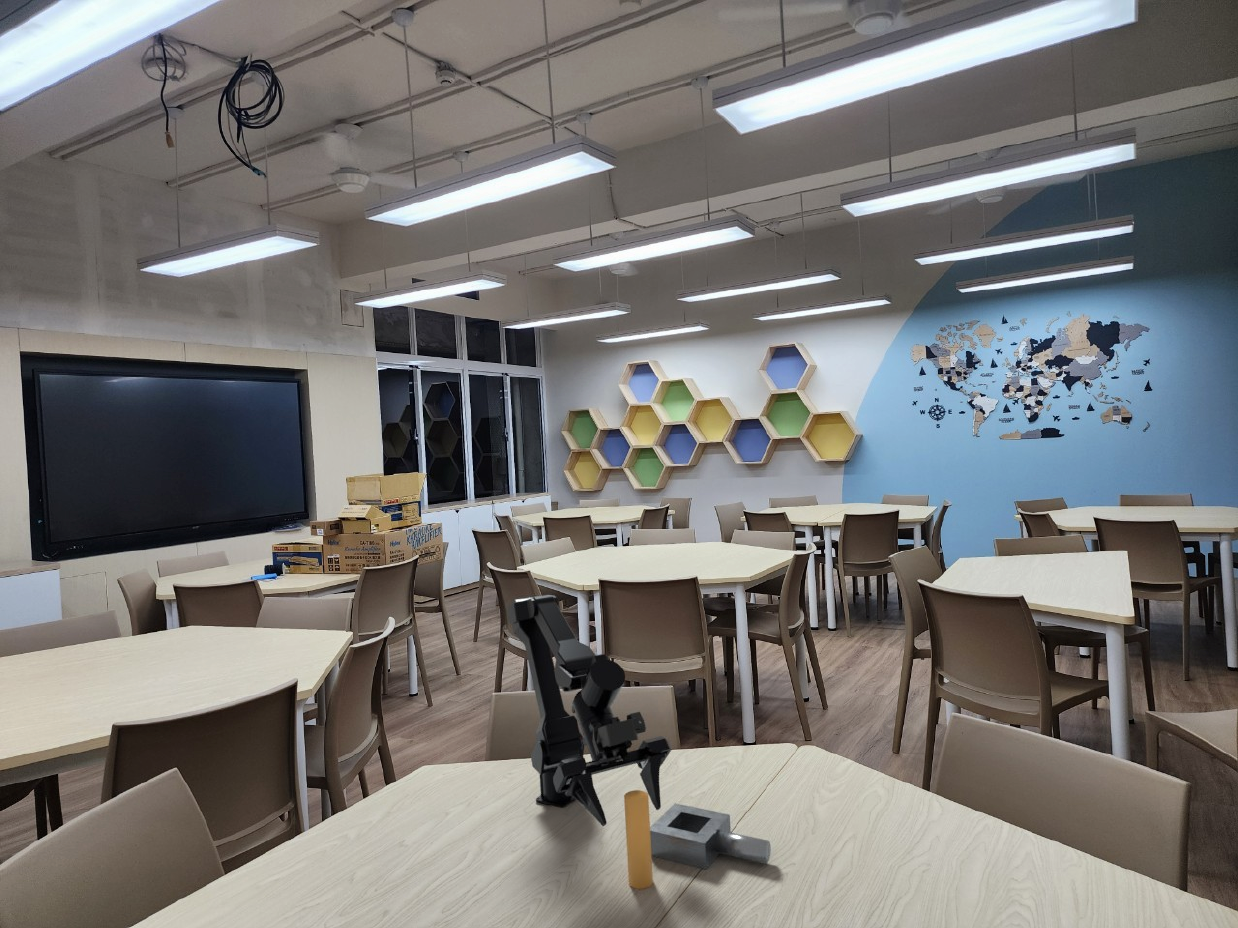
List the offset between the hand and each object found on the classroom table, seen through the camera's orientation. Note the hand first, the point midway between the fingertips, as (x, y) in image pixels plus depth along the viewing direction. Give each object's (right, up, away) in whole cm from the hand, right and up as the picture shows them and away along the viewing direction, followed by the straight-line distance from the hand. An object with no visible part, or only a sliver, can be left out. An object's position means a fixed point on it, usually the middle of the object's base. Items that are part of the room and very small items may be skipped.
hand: (632, 816), depth 114 cm
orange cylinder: (+1, -9, -1) cm, 9 cm away
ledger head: (+13, -8, +6) cm, 17 cm away
